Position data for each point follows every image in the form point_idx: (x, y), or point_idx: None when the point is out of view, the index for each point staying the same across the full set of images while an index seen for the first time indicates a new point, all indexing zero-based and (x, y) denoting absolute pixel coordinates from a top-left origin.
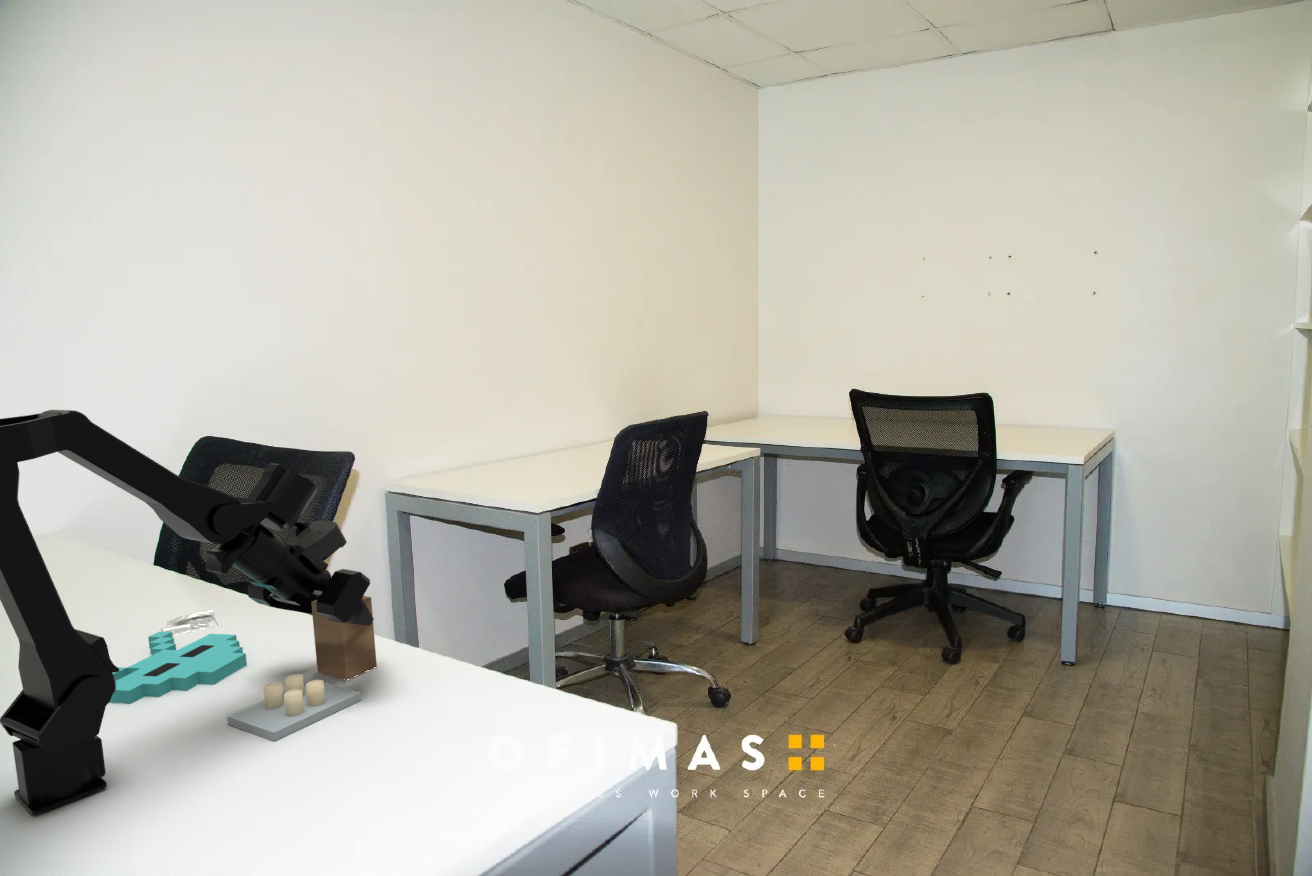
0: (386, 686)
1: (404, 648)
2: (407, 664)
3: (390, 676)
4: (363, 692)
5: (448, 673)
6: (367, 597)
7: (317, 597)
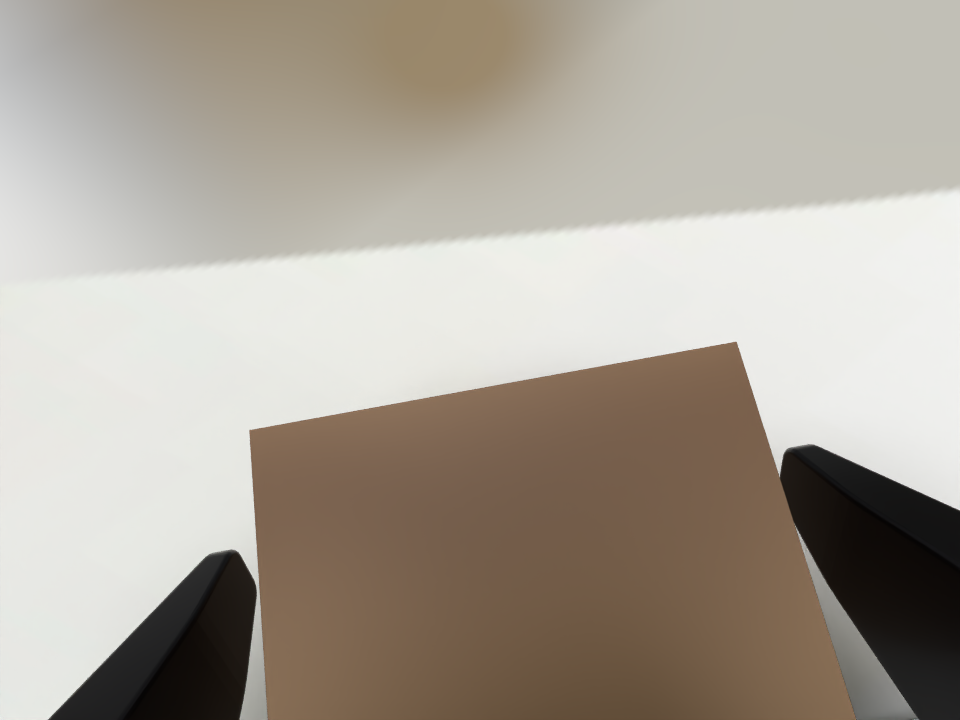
0: None
1: (489, 248)
2: (676, 337)
3: None
4: (845, 648)
5: (910, 285)
6: (713, 370)
7: (137, 714)
